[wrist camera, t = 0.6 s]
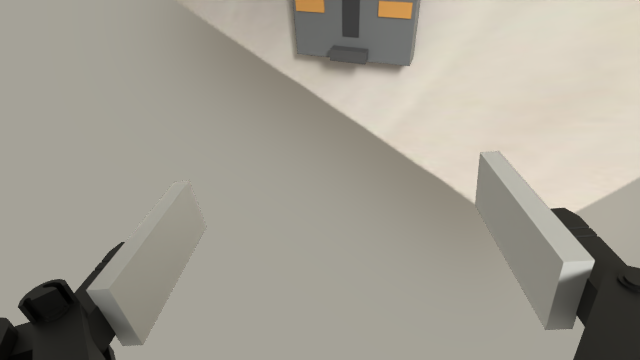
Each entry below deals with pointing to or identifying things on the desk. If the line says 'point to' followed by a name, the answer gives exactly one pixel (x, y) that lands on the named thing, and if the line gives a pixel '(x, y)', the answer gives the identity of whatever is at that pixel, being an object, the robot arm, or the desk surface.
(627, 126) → the desk surface
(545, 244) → the robot arm
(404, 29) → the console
